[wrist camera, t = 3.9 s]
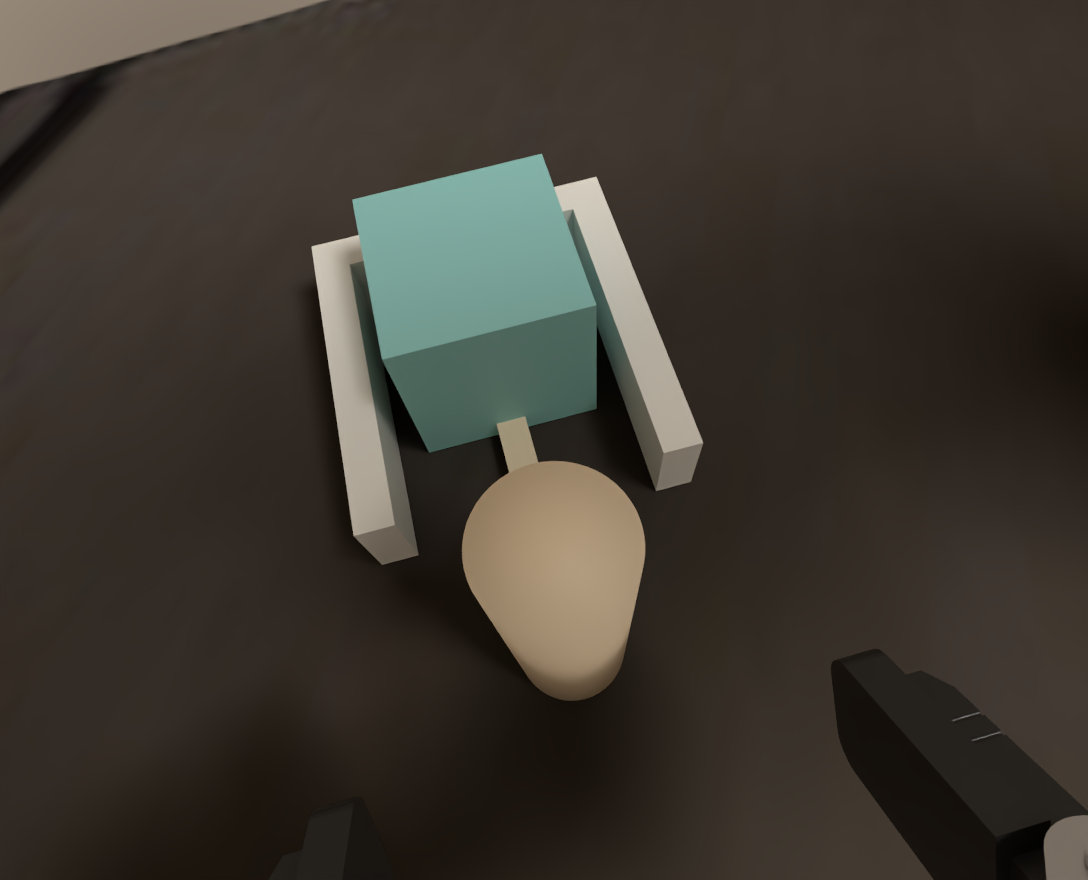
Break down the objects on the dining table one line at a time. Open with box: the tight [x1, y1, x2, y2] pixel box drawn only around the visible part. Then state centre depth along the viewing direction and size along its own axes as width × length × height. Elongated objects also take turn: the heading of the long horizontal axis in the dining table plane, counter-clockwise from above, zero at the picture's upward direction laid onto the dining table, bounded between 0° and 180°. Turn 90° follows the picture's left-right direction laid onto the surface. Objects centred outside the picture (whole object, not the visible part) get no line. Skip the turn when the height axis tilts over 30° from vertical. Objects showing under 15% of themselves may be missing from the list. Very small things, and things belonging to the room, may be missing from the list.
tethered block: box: [352, 154, 645, 701], centre depth 19 cm, size 6×15×10 cm, turn 14°
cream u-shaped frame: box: [312, 177, 703, 565], centre depth 24 cm, size 10×11×3 cm
